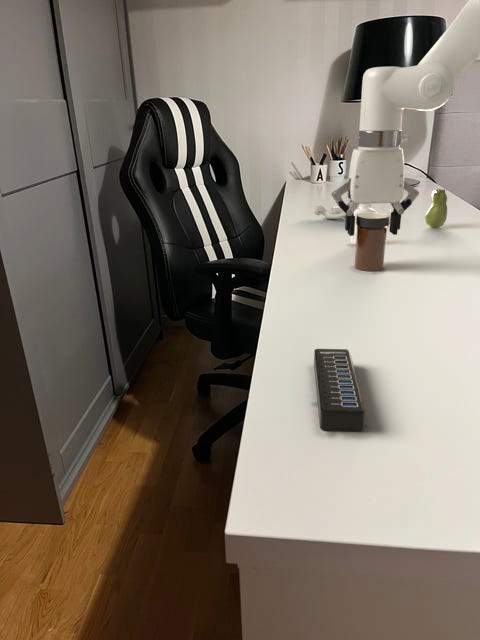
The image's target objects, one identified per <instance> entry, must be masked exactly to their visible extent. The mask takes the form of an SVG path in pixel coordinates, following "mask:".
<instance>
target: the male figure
mask: <svg viewBox="0 0 480 640" xmlns="http://www.w3.org/2000/svg"><path fill="white" fill-rule="evenodd" d="M357 209H360V204H359V205H358V207H357V208H356V210H357ZM392 212H393V208H390V209H389V211H388V213H386V214H387V215H389V224H390V218H391V213H392ZM313 213H314V214H315V215H316V216H320V215H321V216H325V217H326V219H327V220H338V219H342V218H343V219H346V213H345V212H344V211H343V210H342V209H341V208H340V207H339V206H330V207H329V208H328V209H326V208H325V206H322V205H316V206H315V207H314V209H313Z"/></svg>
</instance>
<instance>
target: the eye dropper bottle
mask: <svg viewBox="0 0 480 640" xmlns="http://www.w3.org/2000/svg"><path fill="white" fill-rule="evenodd" d="M371 206H372V203H367V204H359V208H360V209H357V210H355V211H354V216H355V229H354V235H353V236H350V243H351V244H352V245H354V246H356V234H357V225H356V218H357V214H360V213H368V212H374V213H378V212H377V211H376V210H375V209H373V208H372V207H371Z"/></svg>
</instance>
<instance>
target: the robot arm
mask: <svg viewBox="0 0 480 640" xmlns="http://www.w3.org/2000/svg"><path fill="white" fill-rule="evenodd" d="M479 57H480V0H467V2H466V3H464V6H463V7H462V8H461V10H460V11H459V13H458V14H457V16H456V17H455V18H454V19H453V21H452V22H451V24H450V25H449V26H448V27H447V28H446V30H445V31H444V32H443V33H442V35H441V36H440V37H439V38H438V40H437V41H436V42H435V43H434V44H433V46H432V47H431V48H430V49H429V51H428V52H427V53H426V54H425V55H424V56H423V58H422V59H421V60H420V61H419V62H418V64H417V65H412V66H405V67H401V66H393V65H392V66H391V65H390V66H376V67H371V68H368V69H366V70H365V72H364V73H363V76H362V84H361V99H360V114H359V128H358V129H359V131H358V147H357V148H353V151H352V154H351V157H350V158H351V159H350V164H349V171H348V177H347V182H345V183H344V184H343V185H341V186H339V187H337V189H335V190H334V191H333V192H332V193H331V198H332V199H333V200H334V201H335V203H336V204H337V207H340V208H341V209H342V210H343V211H344V212H345V213H346V218H345V220H344V221H345V223H344V230H345V232H347V234H348V235H349V236H350V237H351V236H353V235H354V229H355V216H354V211H355V210H356V208H357V207H358V205H359V206H360V204H367V203H371V204H390V206H391V207H392V212H391V218H390V223H389V228H388V229H389V230H388V231H389V232H390V233H391V234H392V235H394V236H395V235H396V236H397V235H398V231H399V230H400V229H401V223H402V215H404V213H405V211H406V210H407V209H408V208H410V207H411V206H412V204H413V202H414V201H415V200H416V199H417V197H418V196H419V194H420V192H419V190H418V189H416V188H414V187H413V186H412V185H411V184H409V183H408V182H406V181H405V156H404V149H403V148H402V147H400V146H402V143H404V142H408V141H409V134H408V133H404V132H403V130H402V126H403V125H402V124H403V114H404V109H407V110H415V111H422V112H424V111H425V112H428V111H434V110H437V109H439V108H440V107H442V106H443V105H445V104H446V103H447V102H448V101H449V99H450V98H451V96H452V95H453V92H454V88H455V83H456V81H457V80H458V79H459V78H460V77H461V76H462V75H463V74H464V73H465V71H466V70H467V69H468V68H470V66H471V65H472V64H473V63H474V62H475V61H476V60H477V59H478V58H479ZM404 192H406V193H407V196H406V197H405V198H404V199H403V197H404ZM344 194H346V196H347V198H348V200H349V201H348V203H345V201H344V200H343V198H342V196H343V195H344ZM402 199H403V200H402ZM401 200H402V201H401ZM400 201H401V202H400Z"/></svg>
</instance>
